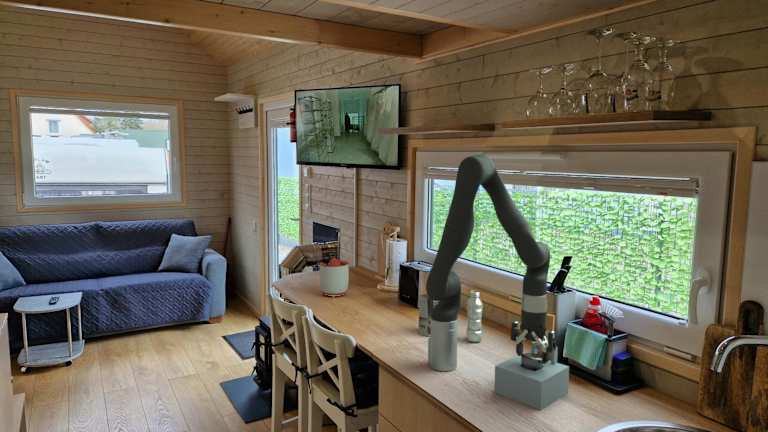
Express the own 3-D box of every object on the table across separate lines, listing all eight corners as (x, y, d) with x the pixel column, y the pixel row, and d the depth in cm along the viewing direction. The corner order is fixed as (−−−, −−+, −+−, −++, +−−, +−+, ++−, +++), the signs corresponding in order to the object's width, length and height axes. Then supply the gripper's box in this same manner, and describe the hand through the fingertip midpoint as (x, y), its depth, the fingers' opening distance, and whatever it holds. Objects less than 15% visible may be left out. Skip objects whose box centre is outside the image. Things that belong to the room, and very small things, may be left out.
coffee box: (429, 337, 214) (429, 298, 212) (418, 333, 219) (418, 295, 217) (444, 332, 219) (445, 294, 217) (433, 328, 224) (434, 291, 222)
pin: (516, 390, 164) (517, 356, 163) (527, 384, 169) (528, 351, 167) (534, 397, 160) (535, 362, 158) (545, 391, 164) (546, 356, 163)
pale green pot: (336, 288, 291) (335, 252, 289) (355, 295, 278) (354, 257, 275) (311, 293, 281) (311, 256, 279) (330, 300, 268) (330, 261, 265)
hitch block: (494, 392, 164) (495, 350, 163) (522, 377, 175) (523, 337, 174) (540, 410, 153) (542, 365, 151) (568, 392, 164) (569, 350, 162)
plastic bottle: (470, 344, 205) (471, 294, 203) (463, 338, 212) (463, 290, 209) (485, 343, 207) (486, 293, 205) (477, 337, 213) (478, 288, 211)
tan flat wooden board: (538, 312, 168) (541, 312, 169) (535, 349, 169) (538, 348, 170) (553, 316, 164) (555, 315, 165) (550, 353, 165) (552, 352, 166)
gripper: (506, 305, 164) (505, 356, 165) (548, 315, 153) (546, 369, 155) (520, 300, 169) (518, 349, 171) (561, 310, 158) (559, 362, 160)
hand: (532, 359), depth 163 cm, fingers open, 8 cm apart
